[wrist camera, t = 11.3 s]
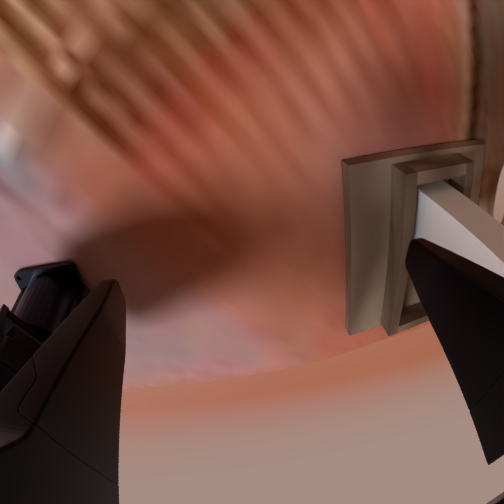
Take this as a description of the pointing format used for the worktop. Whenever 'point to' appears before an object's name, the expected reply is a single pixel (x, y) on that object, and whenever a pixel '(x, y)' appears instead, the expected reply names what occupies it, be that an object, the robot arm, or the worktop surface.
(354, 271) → the rack
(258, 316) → the worktop surface
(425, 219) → the clay block
